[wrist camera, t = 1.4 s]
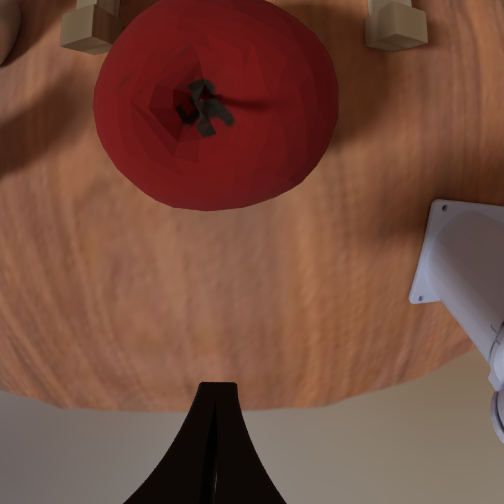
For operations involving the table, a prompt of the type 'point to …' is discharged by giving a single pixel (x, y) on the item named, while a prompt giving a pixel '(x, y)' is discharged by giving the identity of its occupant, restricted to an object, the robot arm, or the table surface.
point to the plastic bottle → (8, 26)
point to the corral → (376, 25)
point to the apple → (216, 102)
